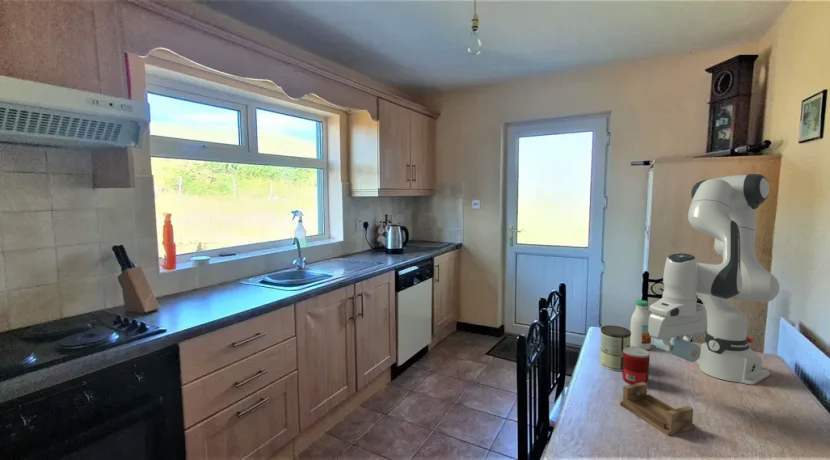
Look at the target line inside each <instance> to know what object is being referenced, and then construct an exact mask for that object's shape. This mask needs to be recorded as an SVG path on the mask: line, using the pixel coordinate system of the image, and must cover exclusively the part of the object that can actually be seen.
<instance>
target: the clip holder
mask: <svg viewBox="0 0 830 460" xmlns="http://www.w3.org/2000/svg"><path fill="white" fill-rule="evenodd" d="M622 390H623V392H622V401H620V404H619V405H620V406H621V407H623V408H624V409H626V410H627V411H629V412H630V413H632V414H634V415H635V416H637V417H638V418H639V419H642V420H643V421H645V422H646V423H647V424H649V425H651V426H652V427H653V428H655V429H657V430H659V431H660V432H661V433H663V434H665V435H666V436H668V437H669V436H672V435H675V434H679V433H683V432H686V431H689V430H693V429H695V428H696V427H695V426H696V425H695V424H694V423H693V419H694V417H693V415H694V408H693V407H691V406H689V405H687V406H683V407H679V408H674V407H672V406H671V405H669V404H667V403H666V402H663V401H662V400H660V399H658V398H656V397H654V396H652V395H651V394H648V384H646V383H644V382H641V383H636V384H627V385H624V386H623V389H622Z"/></svg>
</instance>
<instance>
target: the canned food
mask: <svg viewBox="0 0 830 460" xmlns="http://www.w3.org/2000/svg"><path fill="white" fill-rule="evenodd" d="M650 360H651V359H650V352H649V351H648V350H644V349H641V348H636V347H632V346H630V347H626V348H624V350H623V371H621V372H622V380H623V381H624V382H625V383H627V384H628V385H631V384H636V383H641V382H644V383H646V384H647V385H648V383H649V377H650V376H649V375H650Z"/></svg>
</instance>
